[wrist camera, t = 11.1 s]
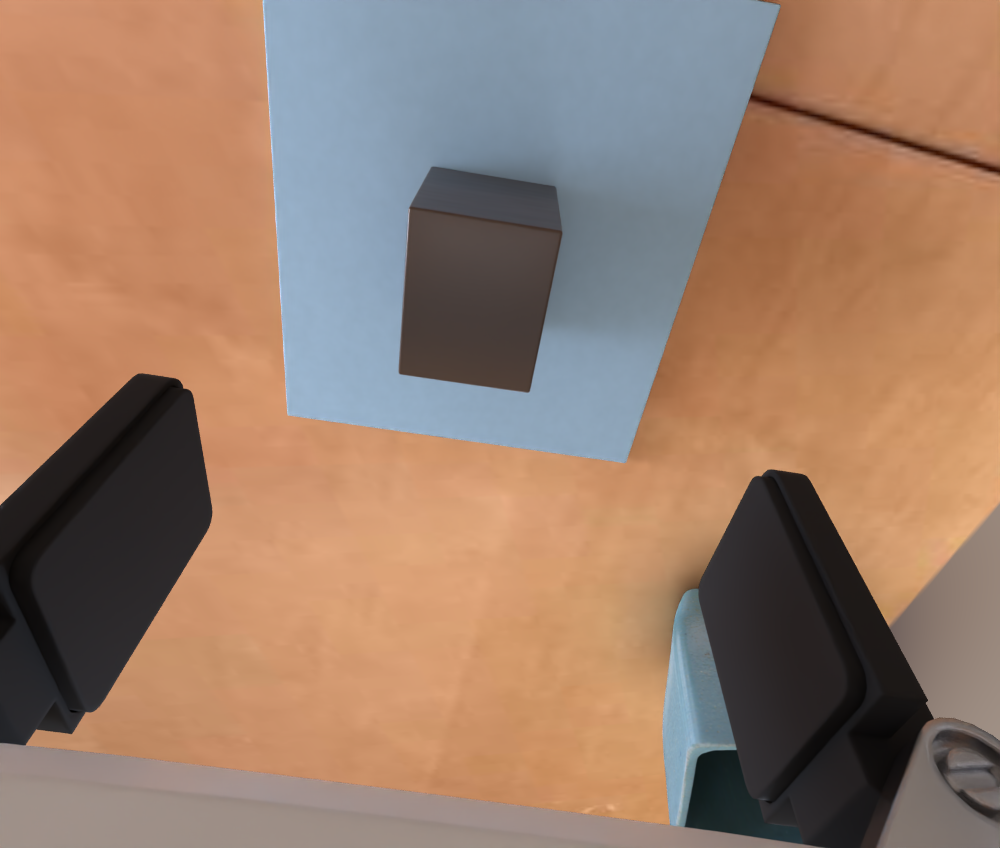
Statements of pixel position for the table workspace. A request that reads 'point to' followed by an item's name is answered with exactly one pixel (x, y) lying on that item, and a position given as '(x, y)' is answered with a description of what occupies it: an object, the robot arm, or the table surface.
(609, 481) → the table surface
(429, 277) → the walnut block
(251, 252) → the table surface
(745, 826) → the flower pot
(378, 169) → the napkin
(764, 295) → the table surface
